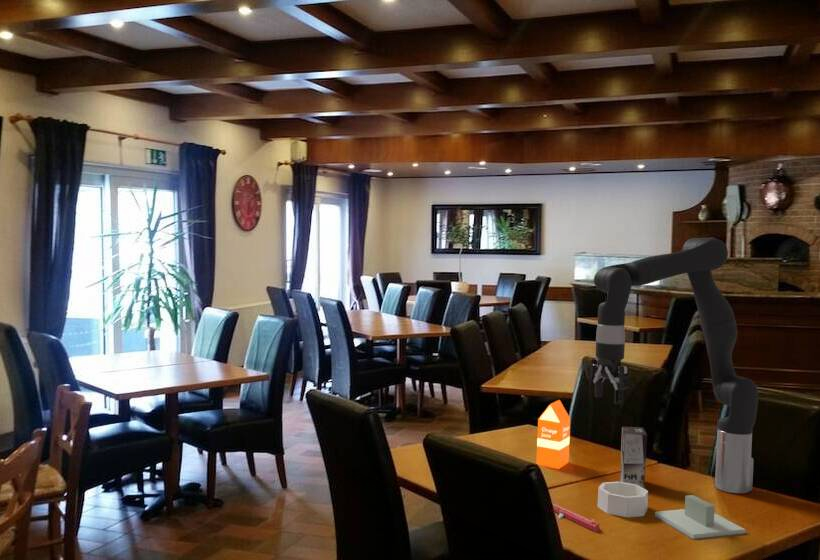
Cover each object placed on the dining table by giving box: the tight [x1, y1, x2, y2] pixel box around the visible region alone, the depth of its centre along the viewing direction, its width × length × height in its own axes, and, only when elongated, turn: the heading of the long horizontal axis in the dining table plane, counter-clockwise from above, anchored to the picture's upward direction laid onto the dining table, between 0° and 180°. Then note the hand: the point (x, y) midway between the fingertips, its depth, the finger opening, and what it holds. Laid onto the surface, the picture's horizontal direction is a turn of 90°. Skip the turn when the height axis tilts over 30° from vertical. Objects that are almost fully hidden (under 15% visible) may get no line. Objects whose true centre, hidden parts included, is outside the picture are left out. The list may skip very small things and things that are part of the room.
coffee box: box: [619, 426, 648, 489], centre depth 213 cm, size 9×6×16 cm
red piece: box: [553, 503, 601, 533], centre depth 187 cm, size 24×2×5 cm
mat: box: [652, 514, 748, 541], centre depth 182 cm, size 16×16×1 cm
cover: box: [654, 494, 746, 539], centre depth 182 cm, size 15×15×6 cm
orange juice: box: [535, 399, 571, 470], centre depth 231 cm, size 8×9×20 cm
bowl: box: [597, 481, 649, 518], centre depth 192 cm, size 12×12×6 cm
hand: (608, 400), depth 196 cm, fingers open, 8 cm apart
